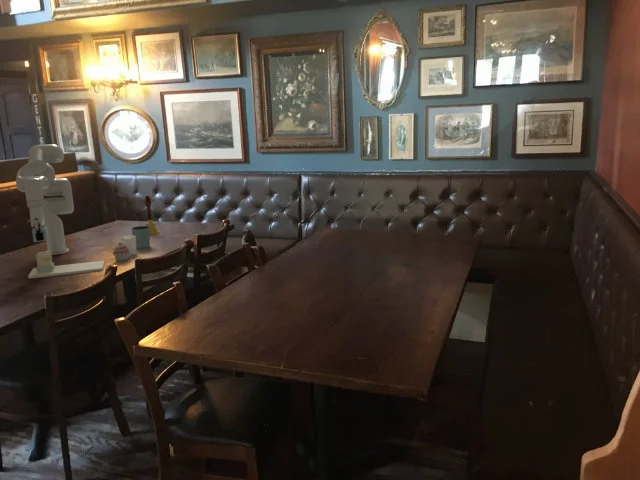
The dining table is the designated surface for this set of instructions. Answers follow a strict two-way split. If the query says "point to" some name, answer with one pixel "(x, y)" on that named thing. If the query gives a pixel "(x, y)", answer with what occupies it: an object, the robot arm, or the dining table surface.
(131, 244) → the white cup
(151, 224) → the handbell
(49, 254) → the beech block
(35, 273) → the build board
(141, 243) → the teal plant pot
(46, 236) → the blue block
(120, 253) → the cupcake
